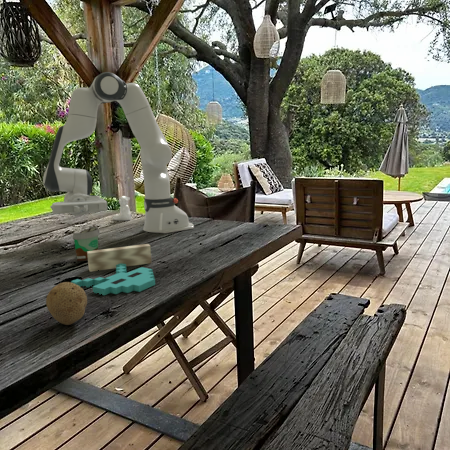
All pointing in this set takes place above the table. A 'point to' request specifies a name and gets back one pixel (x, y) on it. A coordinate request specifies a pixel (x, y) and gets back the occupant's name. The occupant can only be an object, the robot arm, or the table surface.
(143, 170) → the robot arm
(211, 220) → the table surface
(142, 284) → the alien figure
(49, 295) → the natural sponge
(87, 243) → the food container
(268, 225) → the table surface
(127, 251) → the birch board
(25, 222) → the table surface
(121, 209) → the sitting furry creature
